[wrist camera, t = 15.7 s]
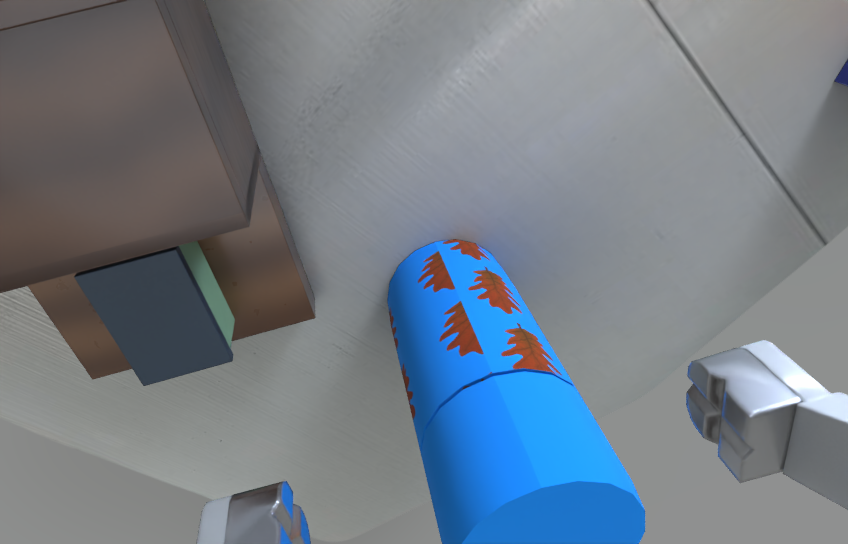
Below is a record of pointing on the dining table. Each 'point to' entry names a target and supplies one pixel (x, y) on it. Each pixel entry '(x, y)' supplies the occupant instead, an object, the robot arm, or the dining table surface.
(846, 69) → the cereal box
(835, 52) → the dining table surface
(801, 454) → the robot arm
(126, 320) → the snack box
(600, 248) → the dining table surface
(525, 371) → the thermos
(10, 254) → the step shelf
